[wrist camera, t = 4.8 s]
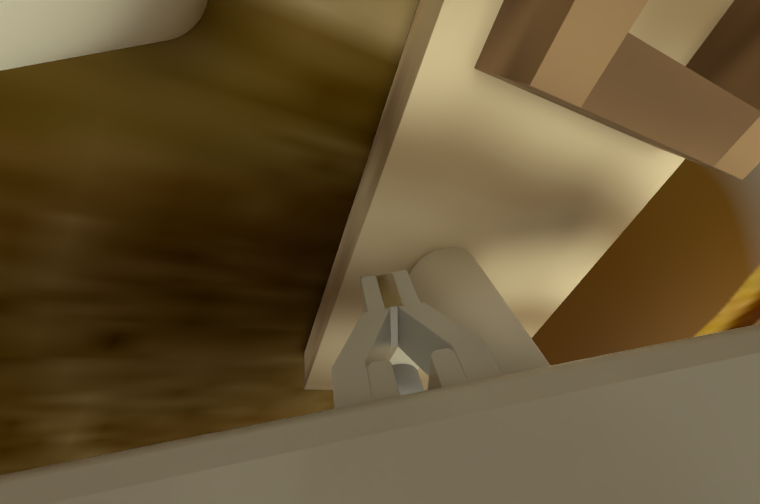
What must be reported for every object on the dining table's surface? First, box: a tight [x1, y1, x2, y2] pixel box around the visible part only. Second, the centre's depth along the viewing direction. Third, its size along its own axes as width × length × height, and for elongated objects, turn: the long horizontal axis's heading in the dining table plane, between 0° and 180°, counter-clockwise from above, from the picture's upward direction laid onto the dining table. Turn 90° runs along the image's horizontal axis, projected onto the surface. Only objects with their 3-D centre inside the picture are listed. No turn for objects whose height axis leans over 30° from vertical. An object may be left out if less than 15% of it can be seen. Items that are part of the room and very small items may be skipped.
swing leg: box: [387, 247, 550, 396], centre depth 13 cm, size 9×3×6 cm, turn 159°
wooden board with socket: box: [304, 0, 760, 391], centre depth 13 cm, size 26×12×5 cm, turn 161°
